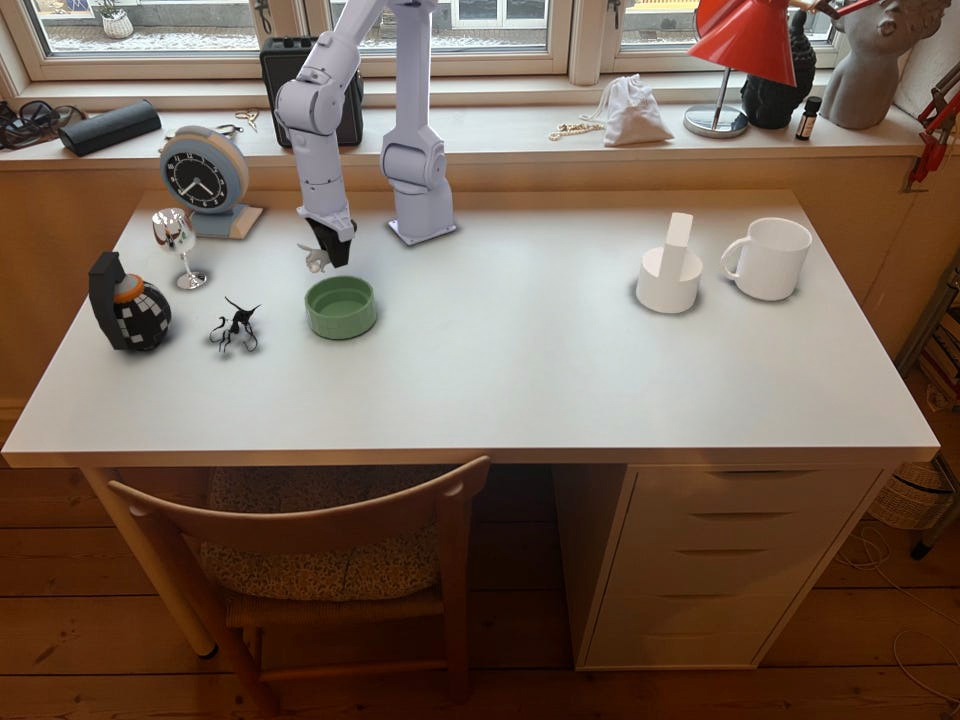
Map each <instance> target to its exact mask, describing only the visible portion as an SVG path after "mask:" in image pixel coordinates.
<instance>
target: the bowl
mask: <svg viewBox="0 0 960 720" xmlns="http://www.w3.org/2000/svg"><path fill="white" fill-rule="evenodd" d="M375 298H376V297H375V292H374V288H373V286H372V285H371V284H370V282H369V281H367V280H366V279H363V278H361V277H359V276H354V275H342V274H341V275H334V276H329V277H326V278H323V279H321V280H319V281H317V282H316V283H314V284H313V285H312V286H311V287H309V289H307V291H306V293H305V295H304V298H303V299H304V307H305V311H306V315H307V319H308V324H309V326H310V328H311V329H312V331H313V332H314V333H315V334H317V335H319V336H320V337H323V338H327V339H332V340H334V339H335V340H345V339H350V338H354V337H357V336H359V335H361V334H363V333H365V332H366V331H368V330H369V329H370V328H372V326H374V324H375V322H376V320H377V316H378V314H377V306H376V299H375Z"/></svg>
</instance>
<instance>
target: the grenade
mask: <svg viewBox="0 0 960 720" xmlns="http://www.w3.org/2000/svg"><path fill="white" fill-rule="evenodd" d="M87 275H88V299H89V303H90V306H91V309H92V313H93V315H94V318H95V320H96V321H97V324H98V327H99V329H100V330H101V332H102V333H103V334H104V336H105V337H106V338H107V340H108V341H109V343H110V345H111V347H112V348H113V350H114V351H125V350H126V351H128V350H130V351H134V352H147V351H150V350H153V349H155V348H157V347H158V346H160V345H161V344H162V343H163V341H164V339H165V338H166V336H167V335H168V332H169V331H170V329H171V327H172V314H173V313H172V309H171V305H170V303H169V301H168V300H167V298H166V296H165V295H164V293H163V292H162V291H161V290H160V289H159V288H158V287H157V286H156V285H154V283H151V282H149V281H146V280H143V278H142V277H141V276H140V275H138V274H134V273H126V271H125V269H124V267H123V264H122V262H121V260H120V253H119V251H102V253H101V254H100V255H99V257H98V258H97V259H96V261H95V263H94V264H93V265H92V267H90V269H89V271H88V272H87Z"/></svg>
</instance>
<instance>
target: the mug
mask: <svg viewBox="0 0 960 720" xmlns="http://www.w3.org/2000/svg"><path fill="white" fill-rule="evenodd" d="M812 242H813V236H812V234H811V232H810V230H808V229H807V228H806V226H803V225H801V224H800V223H798V222H795V221H793V220H790V219H786V218H781V217H771V216H770V217H762V218H759V219H755V220H754V221H752V222H750V224H749V226H748V228H747V233H746V235H745V237H742V238H738V239H736V240H734V242H732V243H731V244H730V245H728V246H727V248H725V250H724V252H723V253H722V255H721V256H720V257H721V258H720V264H719V270H720V271H721V273H723V275H724V277H725V278H726V279H728V280H730V281H734V282H735V285H736V286H737V288H738V289H739V291H741V292H742V293H743V294H745V295H747V296H748V297H751V298H753V299H756V300H761V301H767V302H769V301H770V302H775V301H781V300H784V299H786V298H788V297H789V296H791V295H792V294H793V293H794V290H795V287H796V285H797V282H798V280H799V277H800V274H801V271H802V269H803V267H804V263H805V261H806V258H807V255H808V254H809V253H808V252H809V250H810V247H811V244H812ZM740 247H742V249H741V252H740V256H739V259H738V263H737V266H736V270H735V273H732V272H731V271H729V269H728V268H727V266H726V263H727V260H728V259H729V258H730V256H731V255H732V254H733V252H735V251H736V250H737V249H738V248H740Z"/></svg>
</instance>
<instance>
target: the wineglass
mask: <svg viewBox="0 0 960 720" xmlns="http://www.w3.org/2000/svg"><path fill="white" fill-rule="evenodd" d="M151 220H152V231H153V236H154V239H155V242H156V244H157V246H158V247H159V248H160V249H161V250H162V251H163V252H164V253H166V254H168V255H173V256H179V259H180V261H181V263H182V264H183V265H184V268H185V270H186V273H184V274H183V275H181V276H180V277H179V278H178V279H177V281H176V282H177V285H178V287H179V288H181V289H184V290H191V289H196V288H199V287H200V286H202V285H203V284H204V283H205V282H206V281H207V276H206V274H204V273H203V272H200V271H191V270H190V266H189V264H188V256H187V253H188V252H190V251H191V250H192V249H194V247H195V245H196V243H197V236H196V233H195V229H194V227H193V225H192V223H191V221H190V219H189V216H188V215H187V213H186V212H185V210H183V209H182V208H179V207H168V208H163V209H161V210H159V211H157V212H156V213H155V214H153V216H152V218H151Z"/></svg>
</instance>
